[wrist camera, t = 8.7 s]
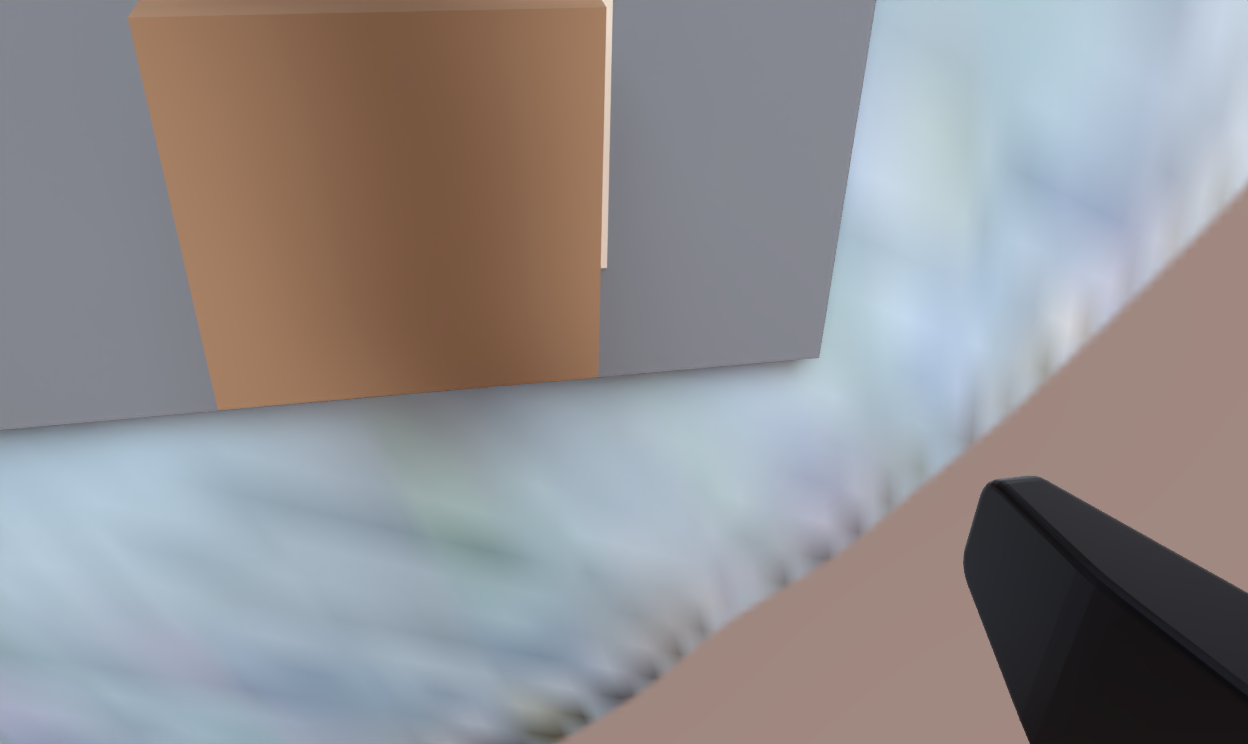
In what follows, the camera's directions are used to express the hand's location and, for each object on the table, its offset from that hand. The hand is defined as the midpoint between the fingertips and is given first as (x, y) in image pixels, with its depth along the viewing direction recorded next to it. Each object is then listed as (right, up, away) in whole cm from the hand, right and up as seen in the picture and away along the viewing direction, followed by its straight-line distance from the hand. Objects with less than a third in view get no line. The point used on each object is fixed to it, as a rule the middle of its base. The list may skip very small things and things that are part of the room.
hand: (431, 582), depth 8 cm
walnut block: (-2, +6, +9) cm, 11 cm away
